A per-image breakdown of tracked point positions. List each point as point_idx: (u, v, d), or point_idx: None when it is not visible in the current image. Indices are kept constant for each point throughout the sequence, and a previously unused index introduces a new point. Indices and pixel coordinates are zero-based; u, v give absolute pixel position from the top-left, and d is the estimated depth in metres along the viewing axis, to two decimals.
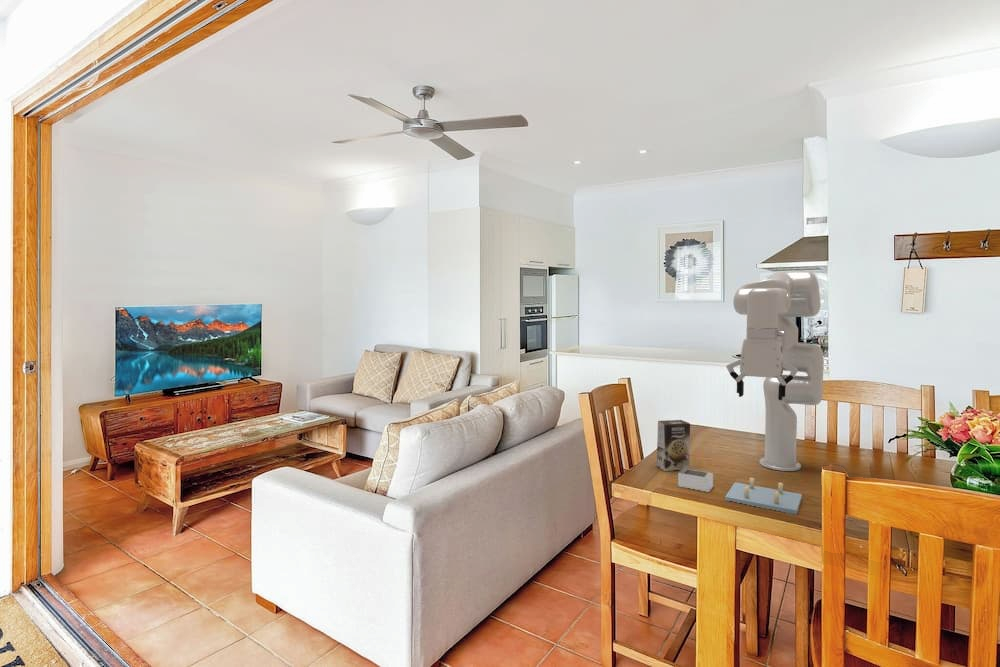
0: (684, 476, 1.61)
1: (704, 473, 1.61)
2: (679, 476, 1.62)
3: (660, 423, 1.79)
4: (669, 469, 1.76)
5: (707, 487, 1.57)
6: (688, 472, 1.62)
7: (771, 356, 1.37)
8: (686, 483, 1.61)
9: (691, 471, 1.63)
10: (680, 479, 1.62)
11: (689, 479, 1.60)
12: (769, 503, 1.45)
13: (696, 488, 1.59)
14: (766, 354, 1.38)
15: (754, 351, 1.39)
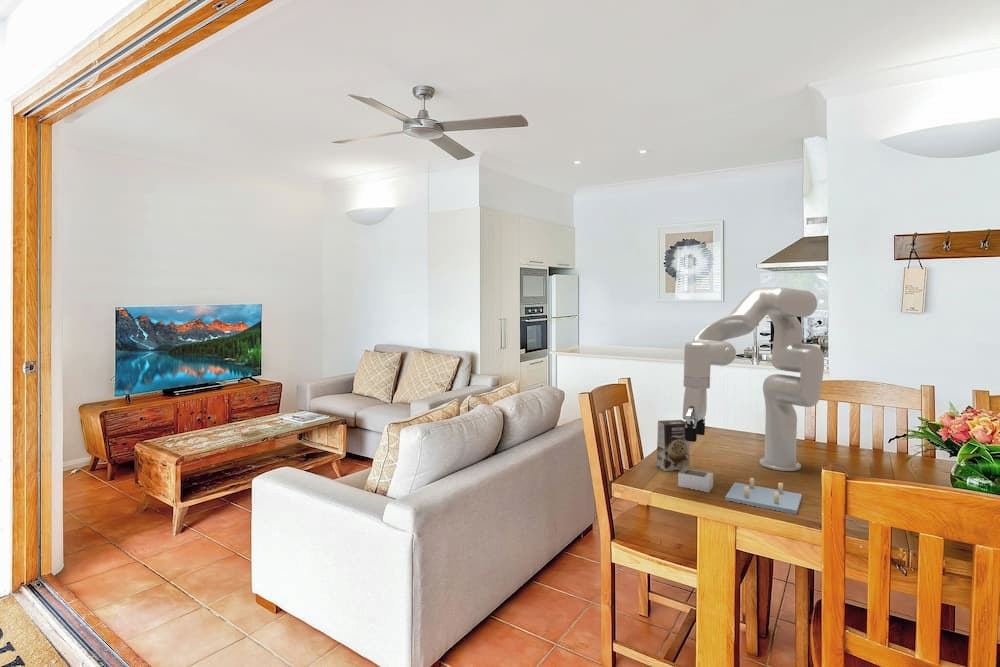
0: (684, 476, 1.61)
1: (704, 473, 1.61)
2: (679, 476, 1.62)
3: (660, 423, 1.79)
4: (669, 469, 1.76)
5: (707, 487, 1.57)
6: (688, 472, 1.62)
7: (706, 399, 1.61)
8: (686, 483, 1.61)
9: (691, 471, 1.63)
10: (680, 479, 1.62)
11: (689, 479, 1.60)
12: (769, 503, 1.45)
13: (696, 488, 1.59)
14: (705, 398, 1.60)
15: (703, 397, 1.57)
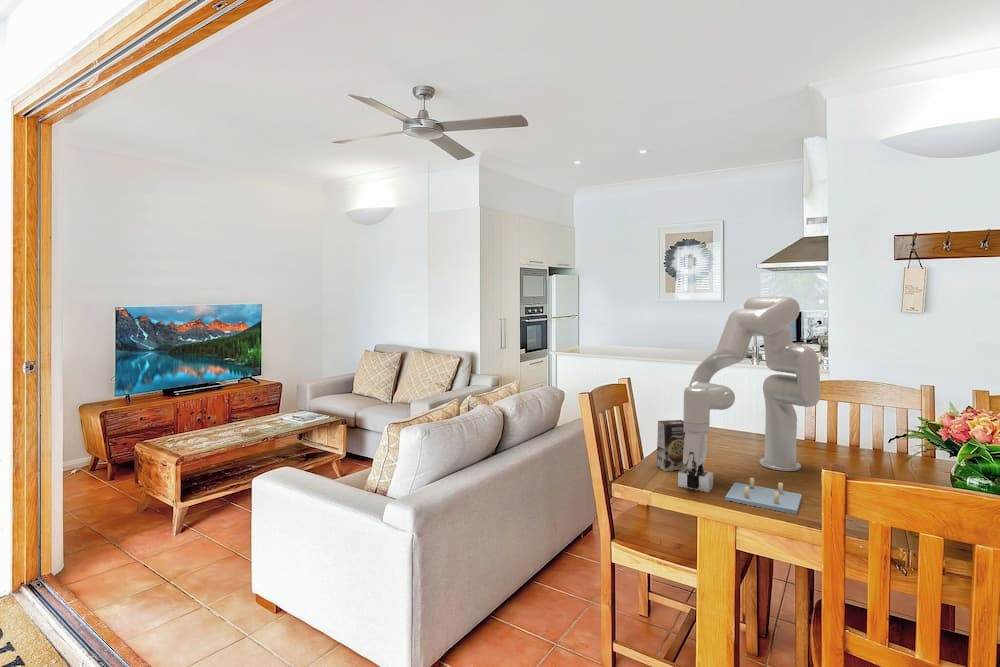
0: (684, 475, 1.61)
1: (704, 472, 1.61)
2: (679, 475, 1.62)
3: (660, 423, 1.79)
4: (669, 469, 1.76)
5: (707, 486, 1.57)
6: None
7: (706, 443, 1.62)
8: (686, 483, 1.61)
9: None
10: (680, 478, 1.62)
11: None
12: (769, 503, 1.45)
13: None
14: (705, 443, 1.61)
15: (703, 442, 1.58)
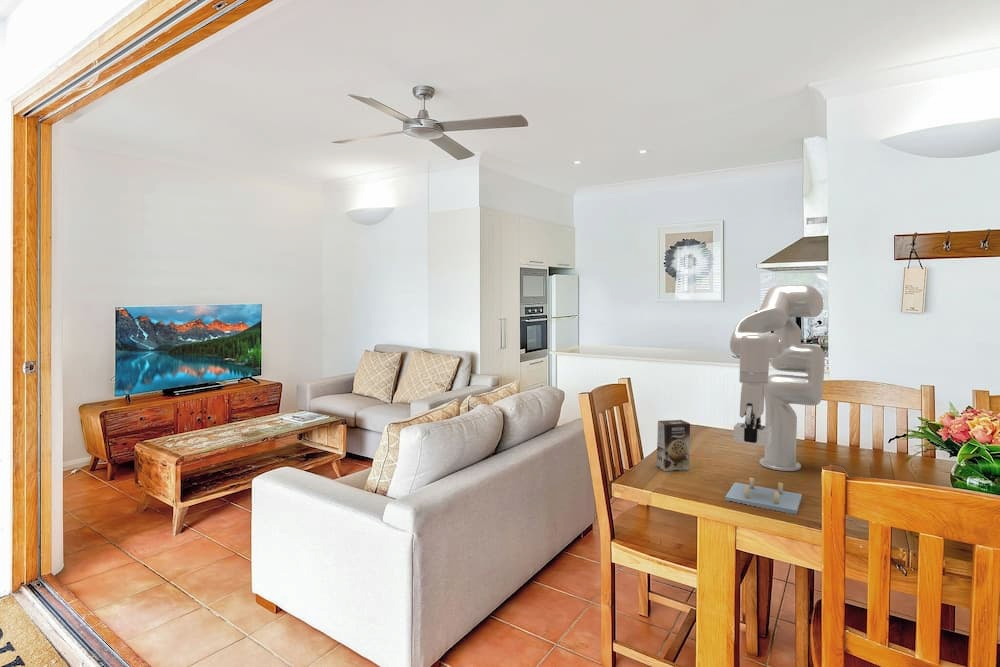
0: (740, 429, 1.51)
1: (762, 426, 1.51)
2: (735, 430, 1.52)
3: (660, 423, 1.79)
4: (669, 469, 1.76)
5: (766, 440, 1.47)
6: (744, 425, 1.52)
7: None
8: (743, 437, 1.51)
9: None
10: (736, 433, 1.52)
11: None
12: (769, 503, 1.45)
13: None
14: (763, 394, 1.51)
15: (762, 394, 1.48)
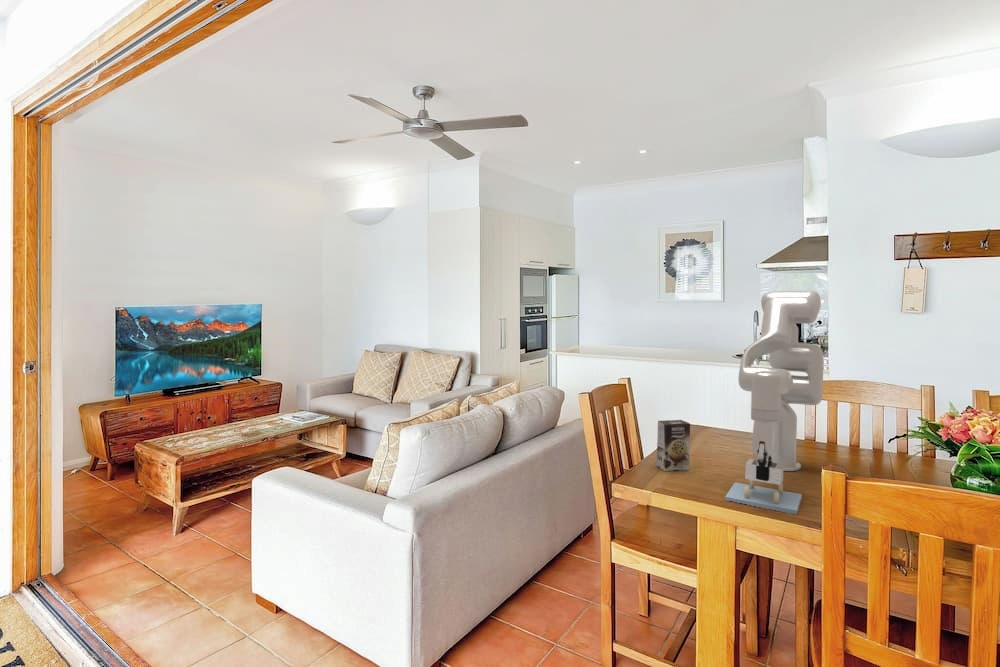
0: (752, 467, 1.50)
1: (774, 464, 1.50)
2: (746, 467, 1.50)
3: (660, 423, 1.79)
4: (669, 469, 1.76)
5: (779, 478, 1.46)
6: (756, 463, 1.51)
7: (775, 432, 1.51)
8: (755, 475, 1.49)
9: None
10: (747, 470, 1.50)
11: None
12: (769, 503, 1.45)
13: None
14: (775, 432, 1.50)
15: (774, 431, 1.47)
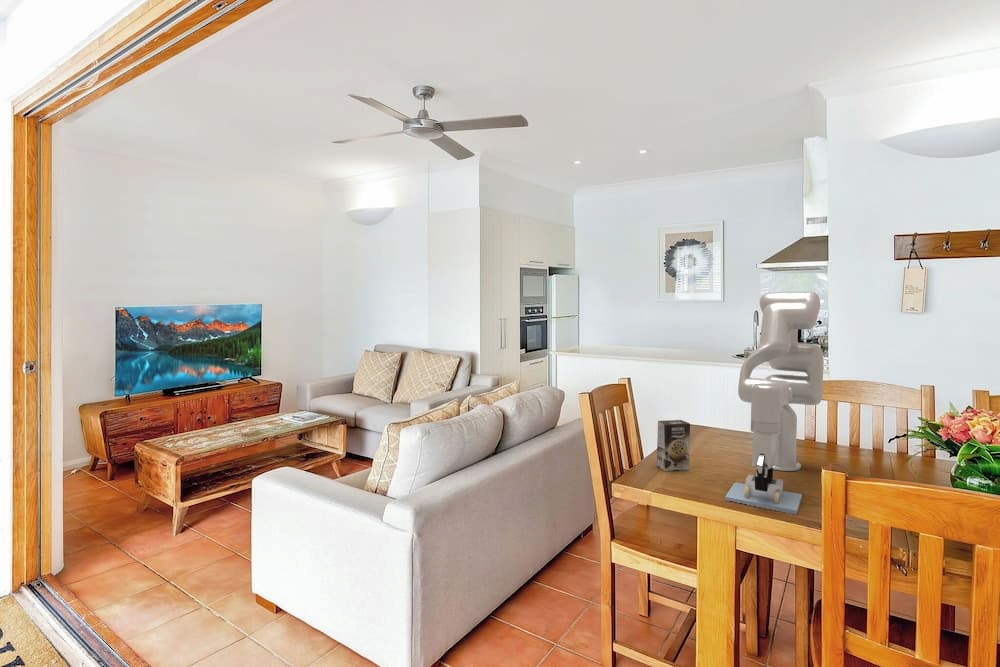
0: (752, 483, 1.50)
1: (773, 480, 1.50)
2: (746, 483, 1.51)
3: (660, 423, 1.79)
4: (669, 469, 1.76)
5: (779, 495, 1.46)
6: None
7: None
8: (755, 491, 1.50)
9: None
10: (747, 486, 1.51)
11: None
12: (769, 503, 1.45)
13: (766, 496, 1.48)
14: None
15: (773, 443, 1.47)
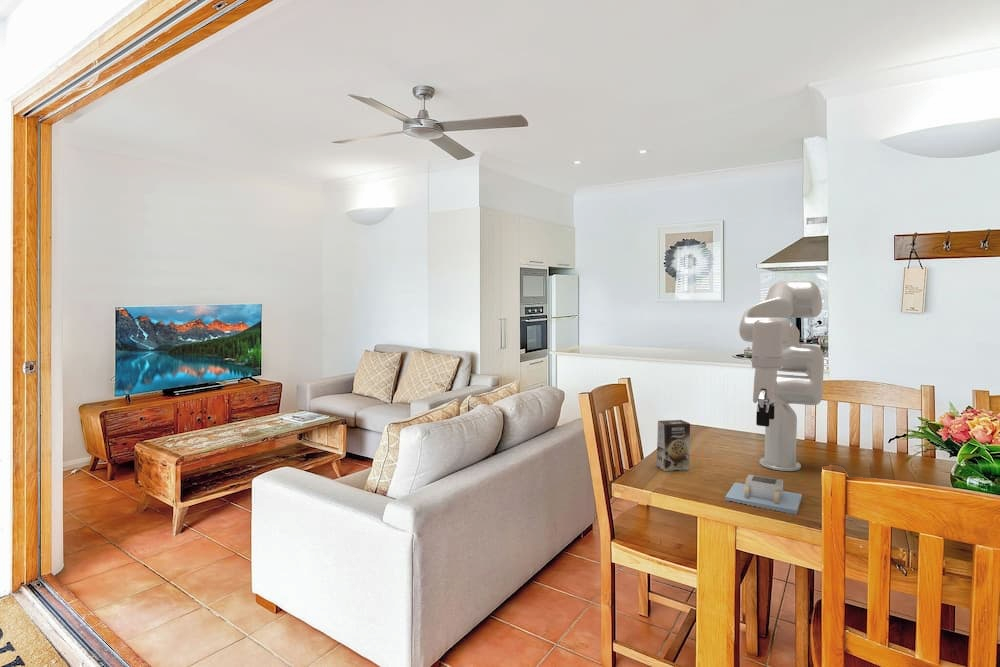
0: (752, 483, 1.50)
1: (773, 480, 1.50)
2: (746, 483, 1.51)
3: (660, 423, 1.79)
4: (669, 469, 1.76)
5: (779, 495, 1.46)
6: (756, 479, 1.51)
7: None
8: (755, 491, 1.50)
9: (759, 478, 1.52)
10: (747, 486, 1.51)
11: (758, 487, 1.49)
12: (769, 503, 1.45)
13: (766, 496, 1.48)
14: (776, 380, 1.49)
15: (775, 379, 1.46)
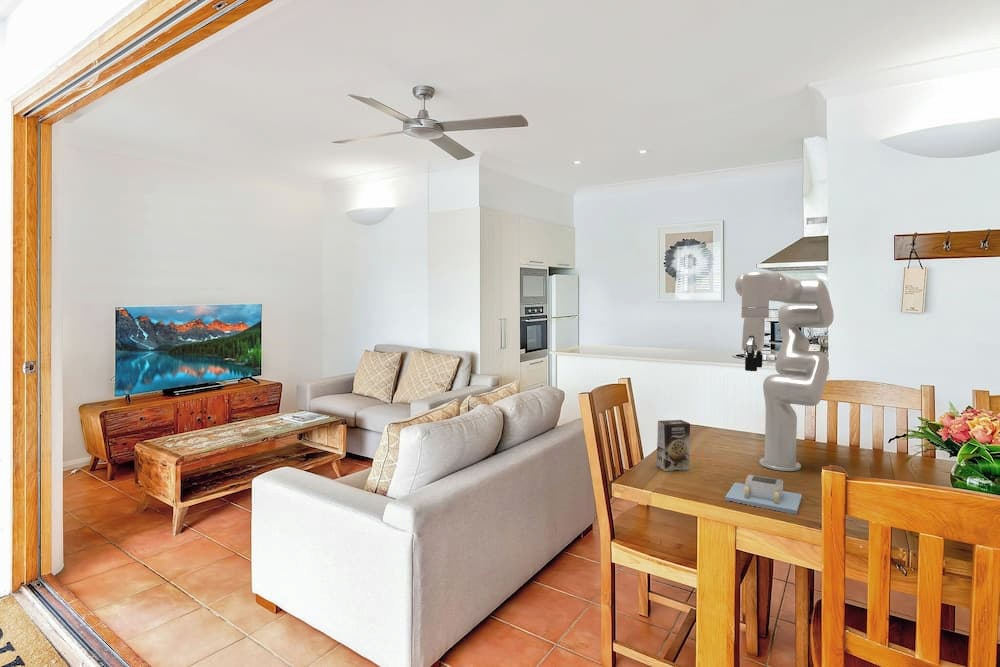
0: (752, 483, 1.50)
1: (773, 480, 1.50)
2: (746, 483, 1.51)
3: (660, 423, 1.79)
4: (669, 469, 1.76)
5: (779, 495, 1.46)
6: (756, 479, 1.51)
7: (764, 330, 1.61)
8: (755, 491, 1.50)
9: (759, 478, 1.52)
10: (747, 486, 1.51)
11: (758, 487, 1.49)
12: (769, 503, 1.45)
13: (766, 496, 1.48)
14: (764, 329, 1.59)
15: (763, 327, 1.57)
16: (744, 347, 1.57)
